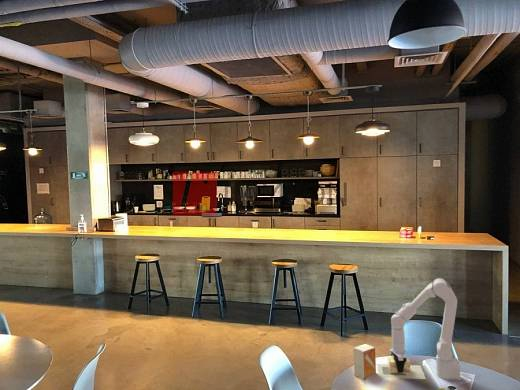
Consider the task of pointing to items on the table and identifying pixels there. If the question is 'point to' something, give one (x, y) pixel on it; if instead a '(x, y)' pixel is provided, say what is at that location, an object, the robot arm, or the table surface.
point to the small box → (364, 361)
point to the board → (414, 373)
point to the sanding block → (394, 368)
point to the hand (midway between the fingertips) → (399, 369)
